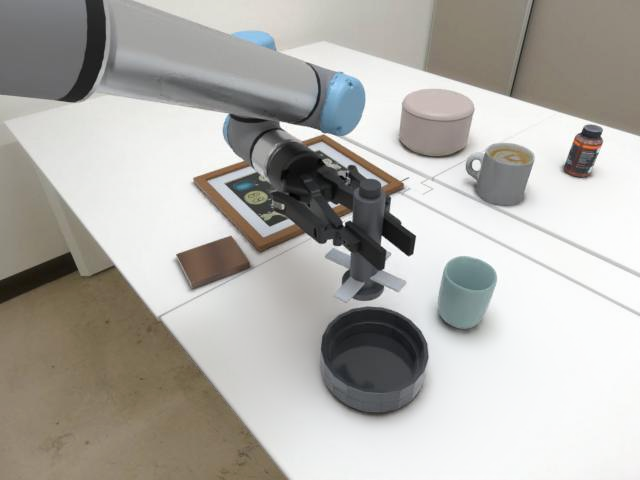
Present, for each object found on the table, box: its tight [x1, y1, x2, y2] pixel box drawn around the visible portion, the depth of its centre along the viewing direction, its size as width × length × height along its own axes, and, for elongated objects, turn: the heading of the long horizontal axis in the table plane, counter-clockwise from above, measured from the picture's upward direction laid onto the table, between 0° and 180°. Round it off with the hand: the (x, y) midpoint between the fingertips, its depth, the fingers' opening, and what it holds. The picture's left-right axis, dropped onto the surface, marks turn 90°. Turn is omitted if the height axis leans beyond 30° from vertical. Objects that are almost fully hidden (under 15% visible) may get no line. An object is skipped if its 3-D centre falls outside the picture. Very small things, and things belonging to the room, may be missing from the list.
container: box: [398, 88, 476, 157], centre depth 118 cm, size 18×18×12 cm
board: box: [175, 235, 251, 290], centre depth 85 cm, size 11×9×2 cm
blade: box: [324, 179, 407, 304], centre depth 55 cm, size 11×11×16 cm
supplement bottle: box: [563, 123, 604, 178], centre depth 106 cm, size 6×6×11 cm
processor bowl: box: [320, 305, 430, 414], centre depth 65 cm, size 15×15×6 cm
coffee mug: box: [465, 142, 536, 206], centre depth 101 cm, size 13×10×10 cm
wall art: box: [192, 133, 405, 253], centre depth 105 cm, size 31×2×38 cm
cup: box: [437, 255, 498, 330], centre depth 71 cm, size 8×8×10 cm
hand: (397, 253), depth 51 cm, fingers closed on blade, 4 cm apart
